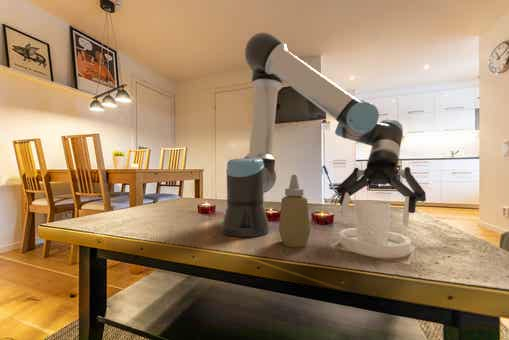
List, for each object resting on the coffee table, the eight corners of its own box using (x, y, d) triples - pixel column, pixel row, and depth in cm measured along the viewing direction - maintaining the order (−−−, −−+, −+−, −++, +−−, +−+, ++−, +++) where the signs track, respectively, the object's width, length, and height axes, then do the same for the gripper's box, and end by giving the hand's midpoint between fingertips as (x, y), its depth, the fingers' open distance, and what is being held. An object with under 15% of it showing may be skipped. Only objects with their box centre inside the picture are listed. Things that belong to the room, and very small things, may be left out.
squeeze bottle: (316, 244, 57) (315, 174, 57) (301, 253, 51) (300, 175, 51) (288, 238, 62) (288, 174, 63) (272, 245, 56) (272, 175, 56)
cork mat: (329, 248, 54) (329, 246, 54) (348, 235, 64) (348, 234, 64) (409, 266, 43) (409, 264, 43) (415, 247, 54) (415, 246, 54)
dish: (330, 247, 53) (330, 237, 53) (350, 234, 65) (350, 225, 65) (406, 264, 43) (405, 251, 43) (413, 245, 55) (413, 234, 55)
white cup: (396, 249, 50) (396, 204, 50) (359, 247, 51) (358, 204, 51) (383, 239, 57) (383, 200, 57) (351, 237, 59) (350, 199, 59)
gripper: (439, 167, 58) (439, 237, 47) (343, 168, 75) (325, 220, 63) (438, 145, 54) (438, 215, 43) (337, 151, 71) (317, 204, 59)
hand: (371, 218), depth 53 cm, fingers open, 13 cm apart
